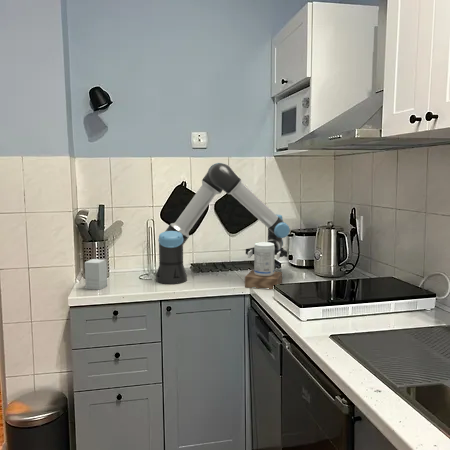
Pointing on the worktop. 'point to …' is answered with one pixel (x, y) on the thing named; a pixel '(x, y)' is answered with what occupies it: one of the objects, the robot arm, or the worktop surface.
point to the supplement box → (95, 274)
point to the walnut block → (262, 280)
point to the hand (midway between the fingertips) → (262, 256)
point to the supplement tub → (264, 258)
